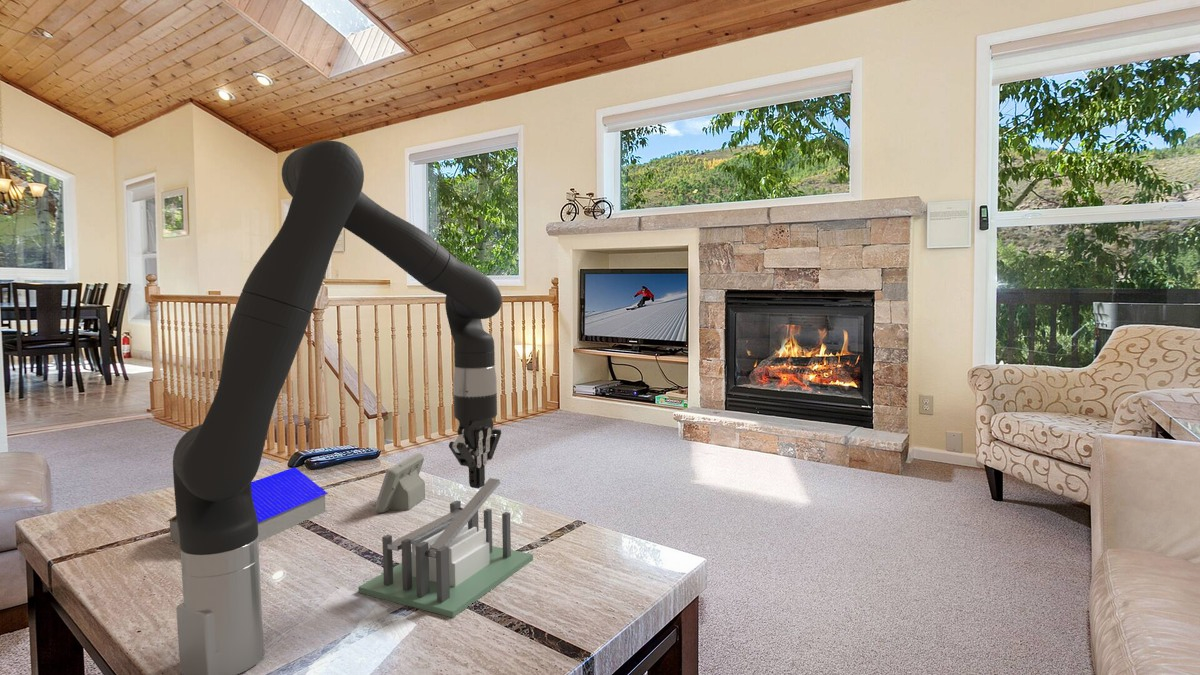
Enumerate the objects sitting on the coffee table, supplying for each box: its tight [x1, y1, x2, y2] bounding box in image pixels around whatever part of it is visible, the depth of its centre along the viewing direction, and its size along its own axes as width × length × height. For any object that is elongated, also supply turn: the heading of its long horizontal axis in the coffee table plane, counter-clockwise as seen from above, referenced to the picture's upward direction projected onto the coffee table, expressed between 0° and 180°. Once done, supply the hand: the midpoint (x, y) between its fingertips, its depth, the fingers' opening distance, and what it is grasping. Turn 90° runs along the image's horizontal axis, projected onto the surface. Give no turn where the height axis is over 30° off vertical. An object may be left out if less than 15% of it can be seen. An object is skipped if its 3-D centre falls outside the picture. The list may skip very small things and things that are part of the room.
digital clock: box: [374, 452, 426, 514], centre depth 155 cm, size 16×9×11 cm, turn 158°
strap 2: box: [425, 477, 501, 558], centre depth 114 cm, size 20×2×1 cm, turn 154°
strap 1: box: [387, 507, 464, 552], centre depth 118 cm, size 20×2×1 cm, turn 155°
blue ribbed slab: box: [165, 466, 328, 543], centre depth 141 cm, size 19×25×10 cm
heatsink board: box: [357, 500, 534, 619], centre depth 117 cm, size 24×20×10 cm
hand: (477, 486), depth 117 cm, fingers closed
